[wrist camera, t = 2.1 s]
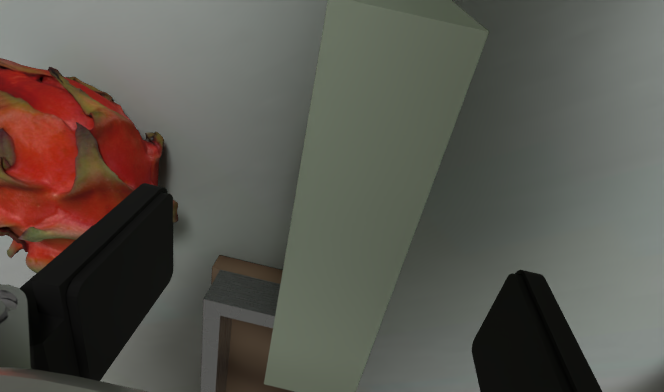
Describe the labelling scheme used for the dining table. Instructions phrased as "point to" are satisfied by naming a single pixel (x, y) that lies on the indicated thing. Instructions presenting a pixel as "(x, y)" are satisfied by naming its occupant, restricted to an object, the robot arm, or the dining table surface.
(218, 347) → the open rectangular box
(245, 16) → the dining table surface
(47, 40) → the dining table surface
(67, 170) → the dragon fruit
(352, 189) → the pale green rectangular block
